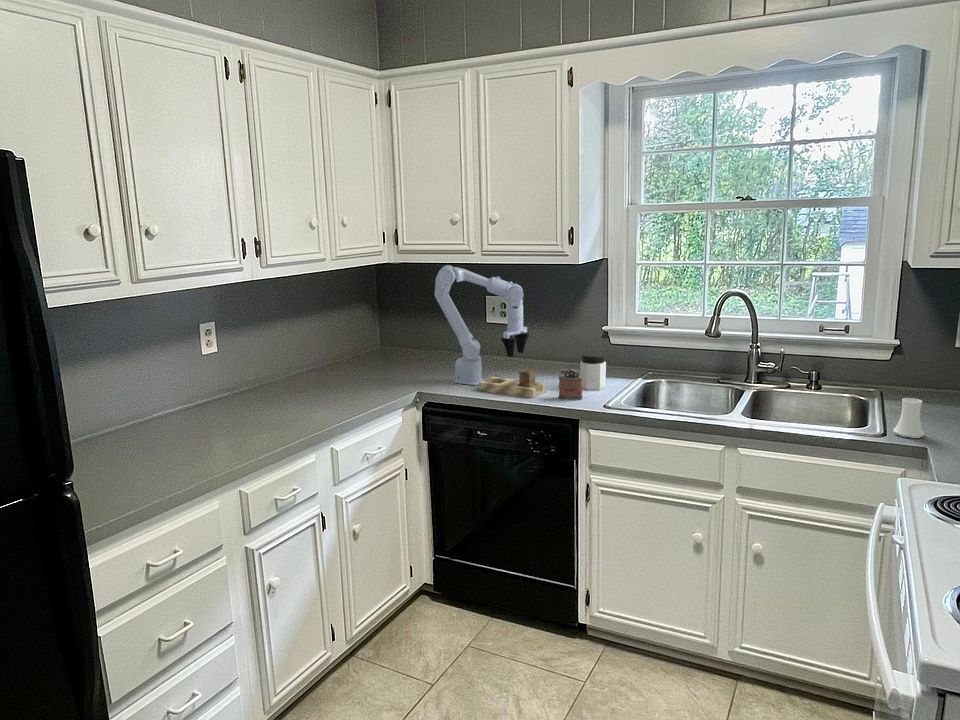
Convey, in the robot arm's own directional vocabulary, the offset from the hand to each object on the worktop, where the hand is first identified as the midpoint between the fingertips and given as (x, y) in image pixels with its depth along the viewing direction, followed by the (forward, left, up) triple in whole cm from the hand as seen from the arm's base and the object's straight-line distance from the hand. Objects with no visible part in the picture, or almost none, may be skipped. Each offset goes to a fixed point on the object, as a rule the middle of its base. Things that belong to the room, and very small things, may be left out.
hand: (515, 354), depth 269 cm
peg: (+11, -12, -10) cm, 19 cm away
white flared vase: (+126, -2, -11) cm, 126 cm away
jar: (+28, +6, -11) cm, 31 cm away
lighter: (+27, -11, -11) cm, 31 cm away
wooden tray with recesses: (+5, -12, -10) cm, 17 cm away
